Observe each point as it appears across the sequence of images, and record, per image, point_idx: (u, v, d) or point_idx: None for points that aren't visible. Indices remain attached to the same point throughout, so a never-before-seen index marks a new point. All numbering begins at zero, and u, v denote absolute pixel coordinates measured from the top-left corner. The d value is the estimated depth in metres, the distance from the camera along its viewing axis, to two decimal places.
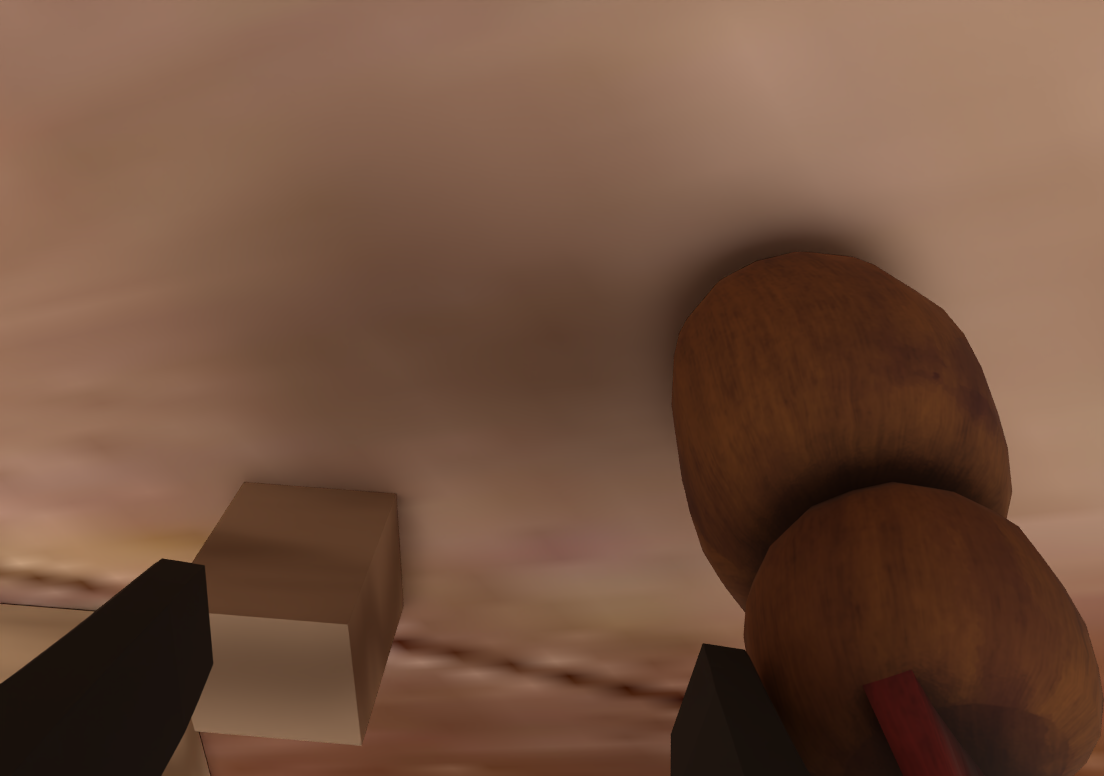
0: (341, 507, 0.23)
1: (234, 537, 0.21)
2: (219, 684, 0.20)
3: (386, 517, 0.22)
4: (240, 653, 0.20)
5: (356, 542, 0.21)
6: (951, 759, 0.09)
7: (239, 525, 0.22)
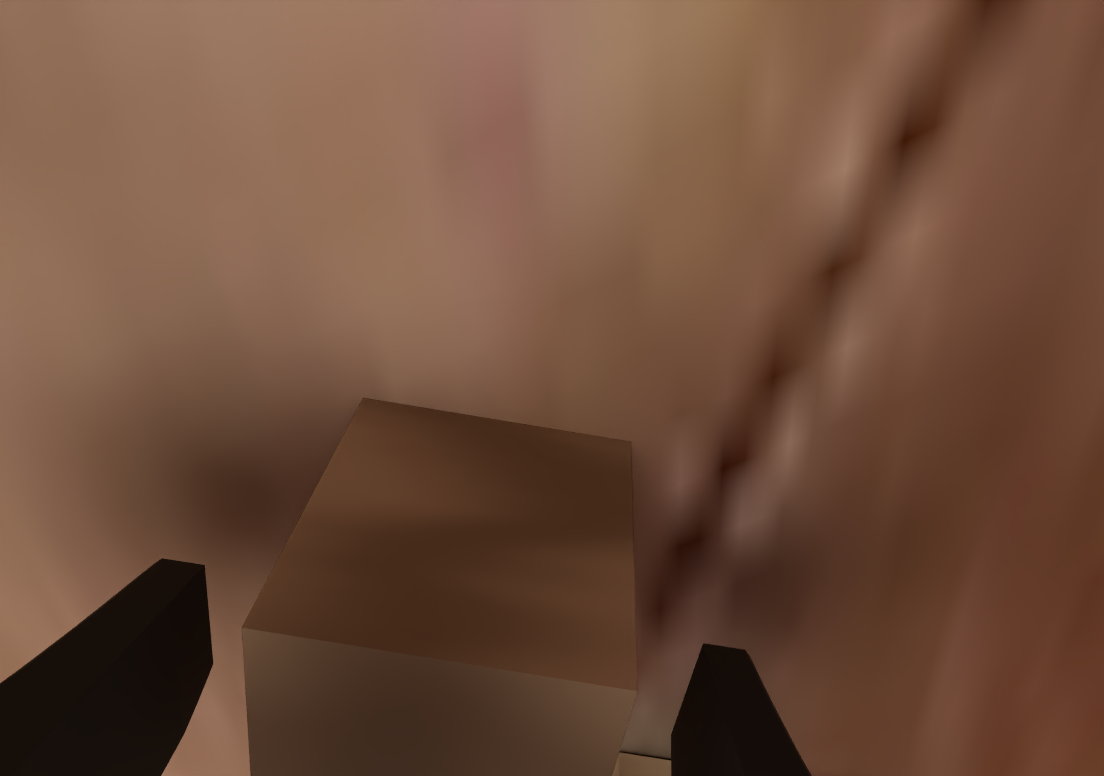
0: None
1: None
2: None
3: (345, 434, 0.12)
4: None
5: None
6: None
7: None
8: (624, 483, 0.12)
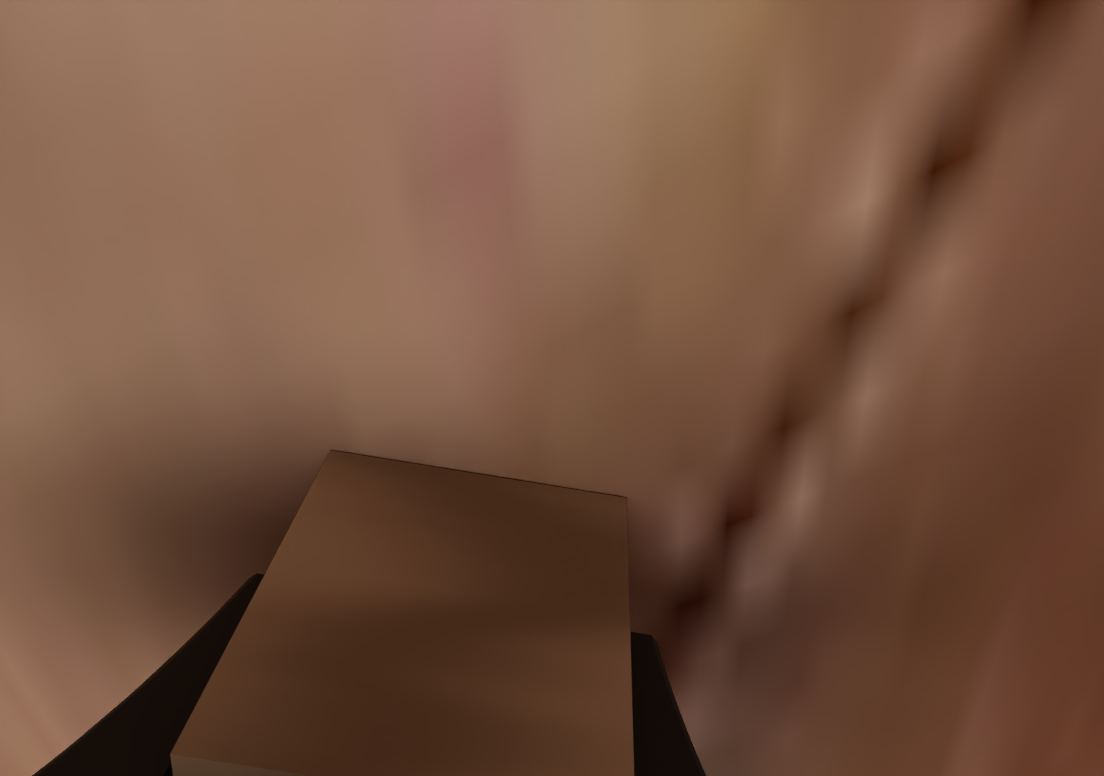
0: None
1: None
2: None
3: (306, 498, 0.11)
4: None
5: None
6: None
7: None
8: (619, 552, 0.11)
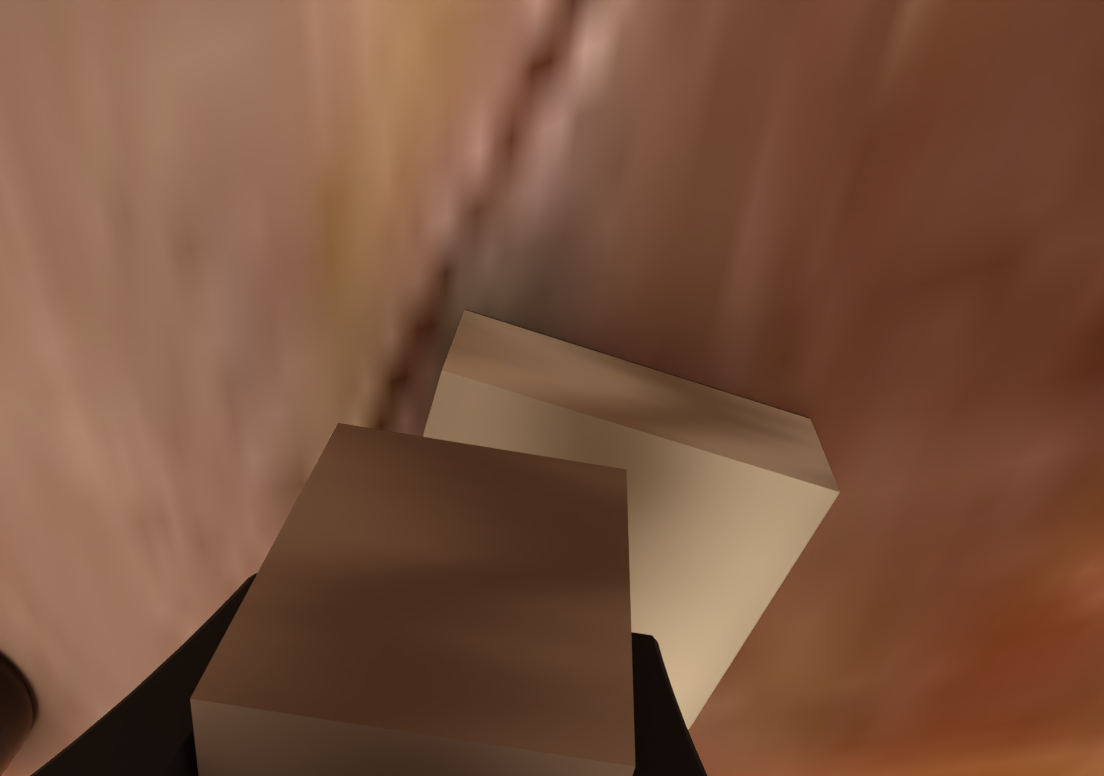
0: None
1: None
2: None
3: (315, 467, 0.11)
4: None
5: None
6: None
7: None
8: (619, 519, 0.11)
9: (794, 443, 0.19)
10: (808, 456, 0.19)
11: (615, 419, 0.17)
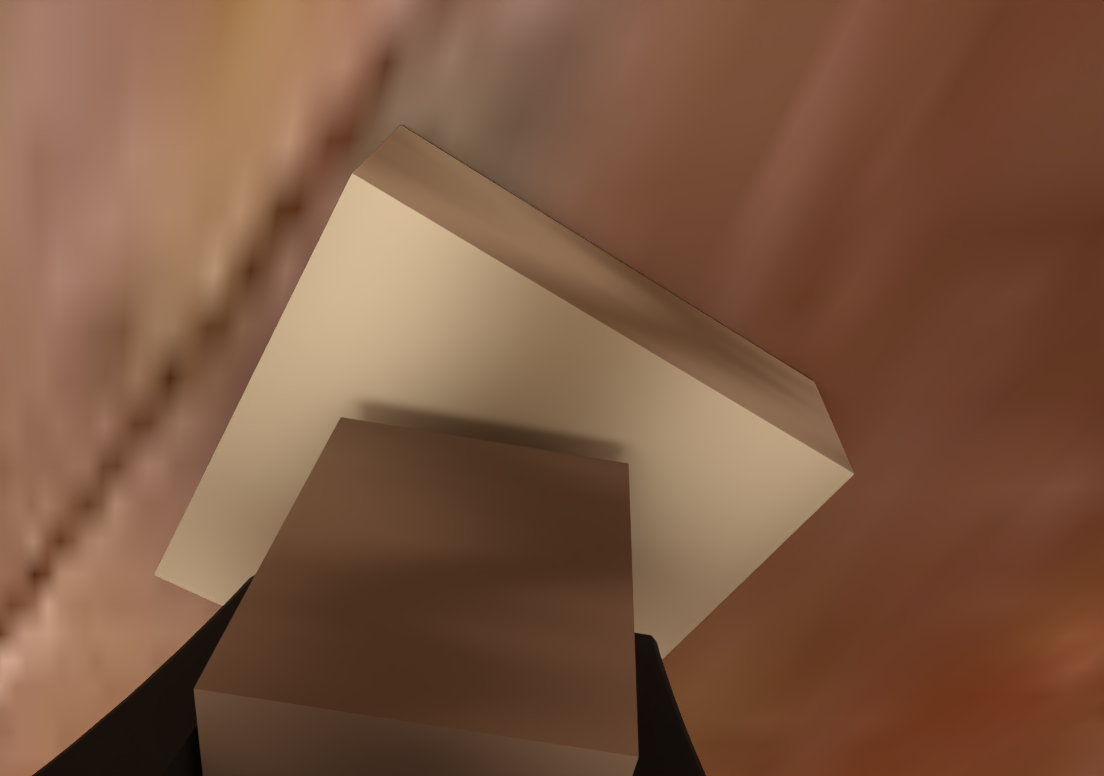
0: None
1: None
2: None
3: (318, 461, 0.11)
4: None
5: None
6: None
7: None
8: (621, 512, 0.11)
9: (799, 403, 0.14)
10: (815, 422, 0.14)
11: (584, 308, 0.12)
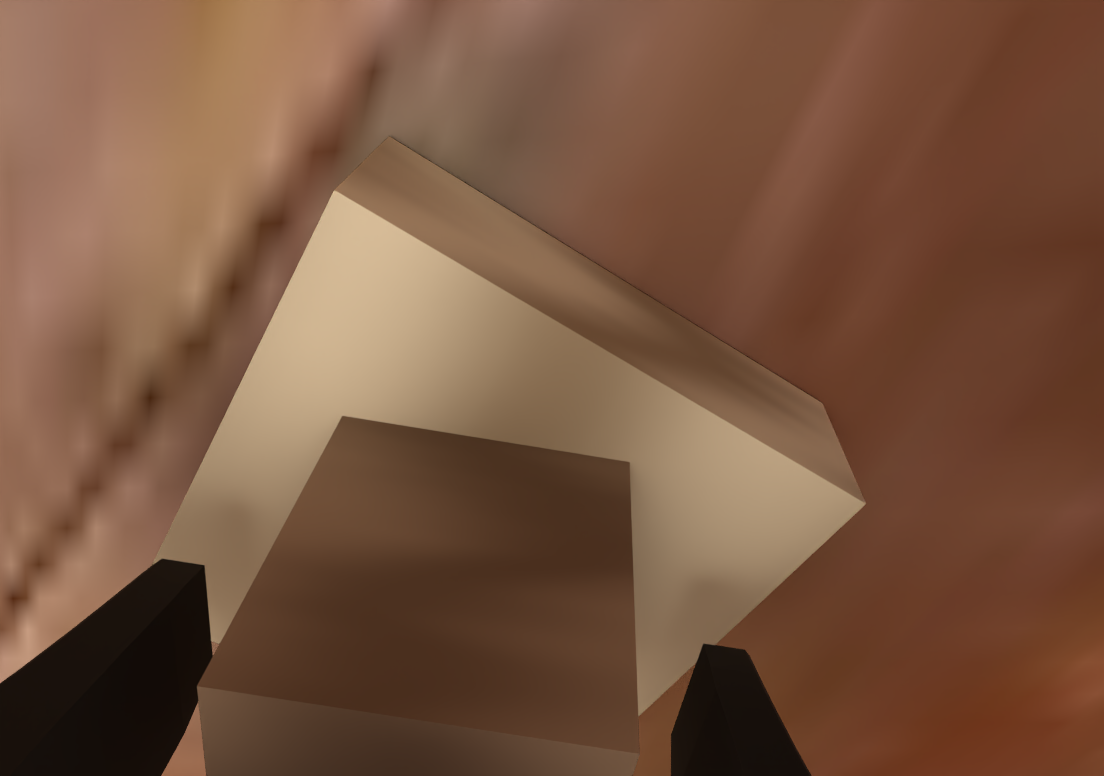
0: None
1: None
2: None
3: (320, 459, 0.11)
4: None
5: None
6: None
7: None
8: (622, 511, 0.11)
9: (808, 428, 0.14)
10: (824, 448, 0.13)
11: (581, 331, 0.11)
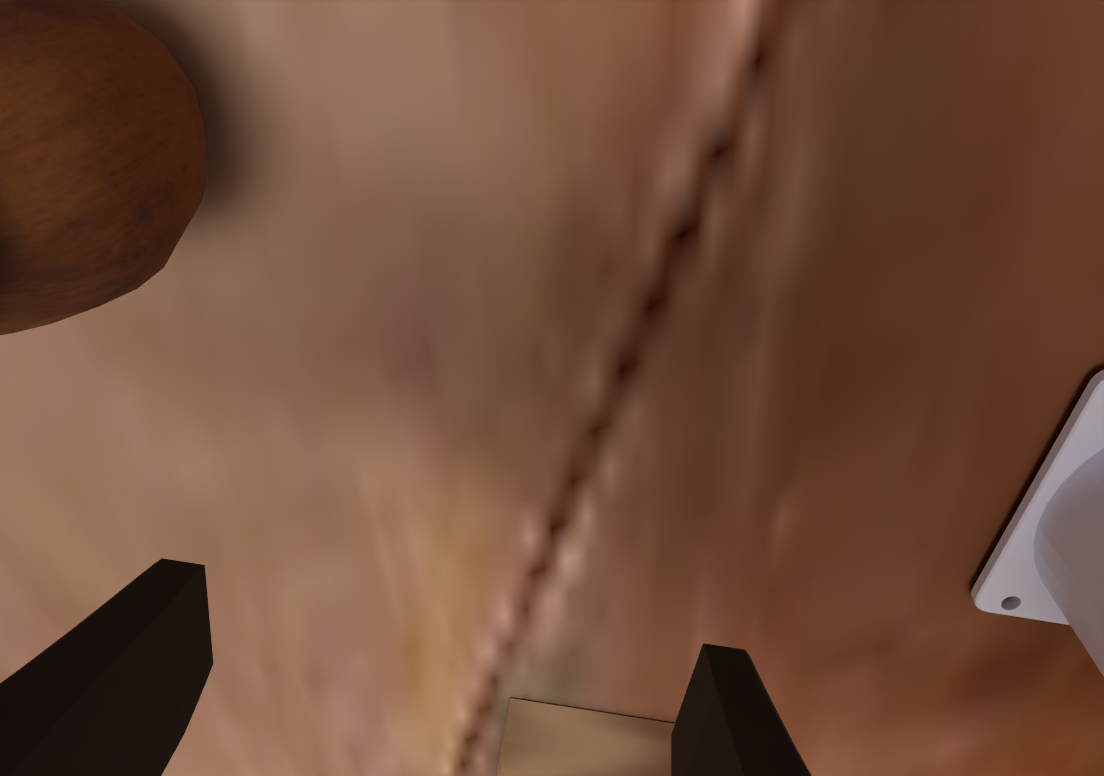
0: None
1: None
2: None
3: None
4: None
5: None
6: None
7: None
8: None
9: None
10: None
11: None
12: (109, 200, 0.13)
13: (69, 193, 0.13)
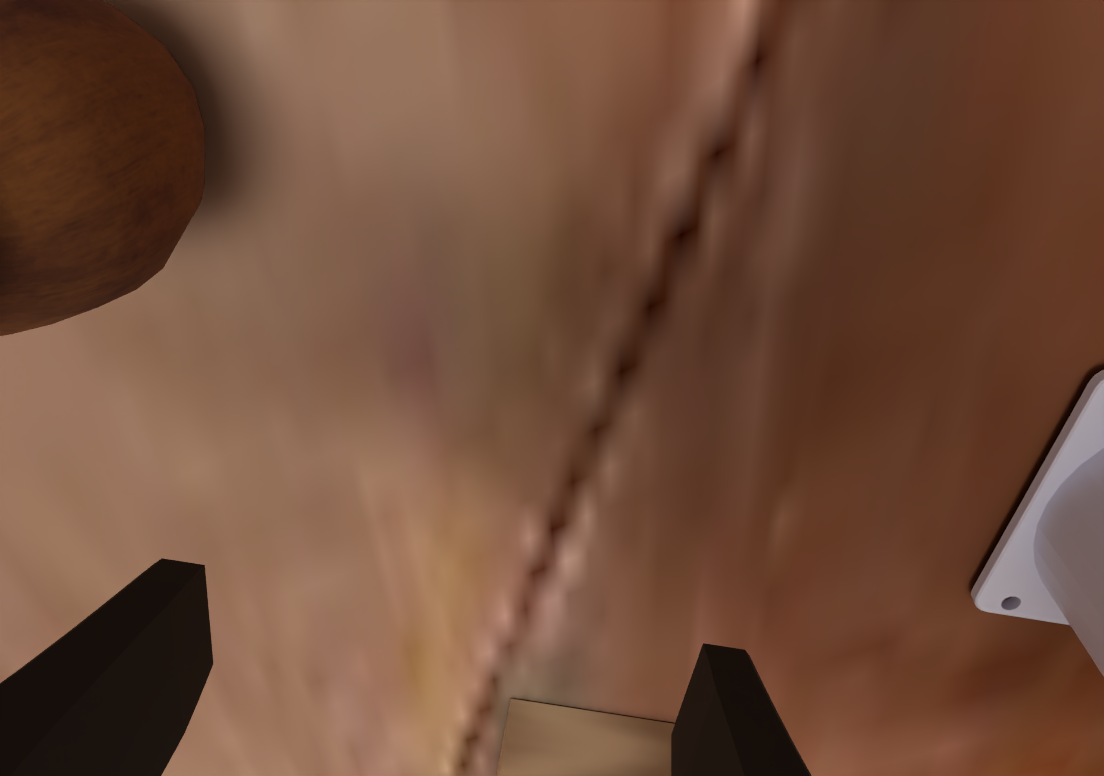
0: None
1: None
2: None
3: None
4: None
5: None
6: None
7: None
8: None
9: None
10: None
11: None
12: (107, 202, 0.13)
13: (67, 195, 0.13)
